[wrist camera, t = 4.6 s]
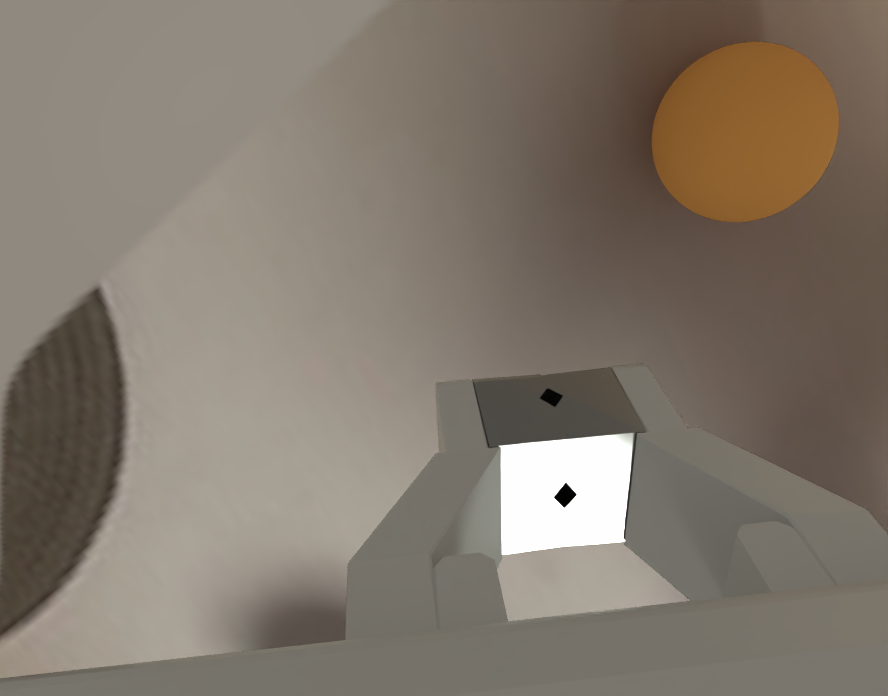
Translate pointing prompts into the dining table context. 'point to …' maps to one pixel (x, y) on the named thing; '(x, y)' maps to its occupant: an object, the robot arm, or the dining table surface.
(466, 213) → the dining table surface
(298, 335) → the dining table surface
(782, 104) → the ball
